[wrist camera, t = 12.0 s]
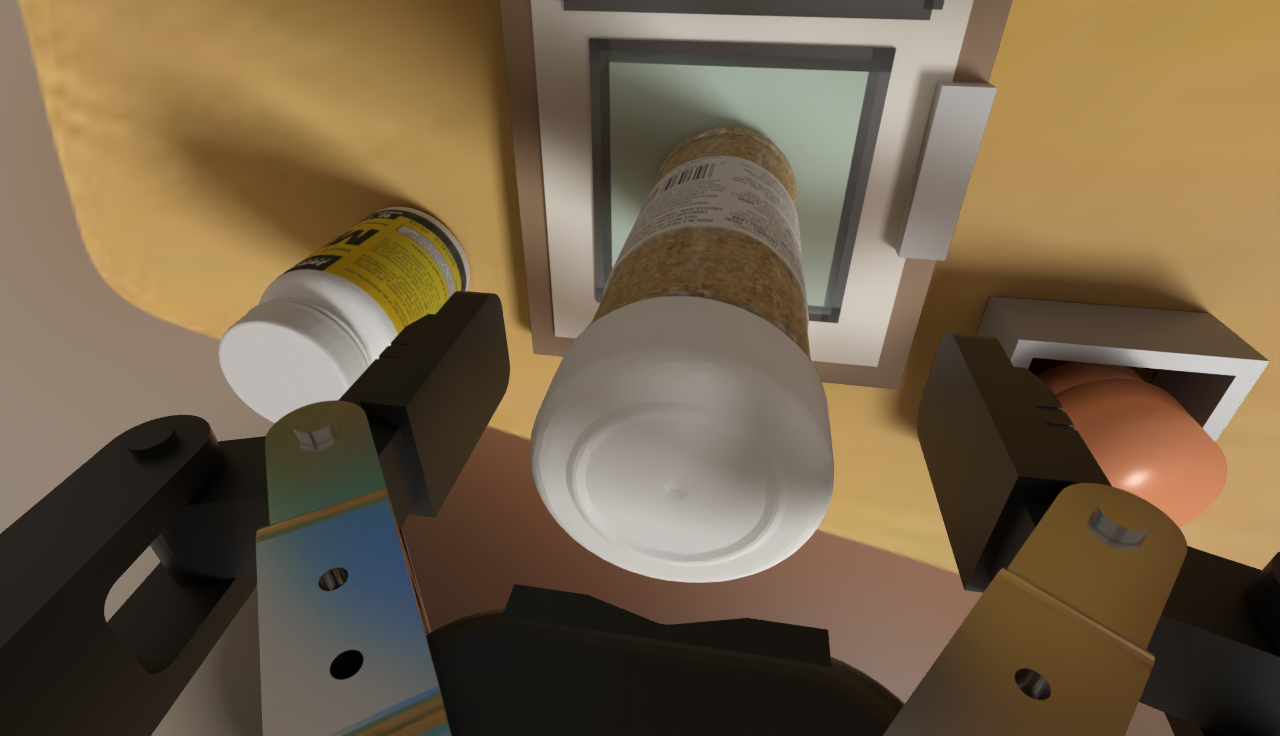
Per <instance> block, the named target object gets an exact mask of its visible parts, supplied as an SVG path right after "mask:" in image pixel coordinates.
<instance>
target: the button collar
mask: <svg viewBox="0 0 1280 736" xmlns="http://www.w3.org/2000/svg"><path fill="white" fill-rule="evenodd" d="M977 335H986V336H994V337H996V338H997V339H998V340H999V342H1000V344H1001V345H1002V347H1003V349H1004V351H1005V352H1006V354H1007V356H1008V358H1009V359H1010V361H1011V363H1012V365H1013V366H1014V367H1023V368H1027V369H1028V368H1029V365H1030V363H1031V361H1032V358H1043V359H1054V360H1065V361H1076V362H1087V363H1098V364H1110V365H1121V366H1132V367H1143V368H1154V369H1159V370H1158V372H1157V373H1156V375H1155V377H1154V379H1153V381H1152V382H1151V384H1153V385H1155V386H1158V387H1160V388H1162V389H1163V390H1165V391H1167V392H1168V393H1169V394H1170V395H1172V396H1173V397H1174V398H1175V399H1176V400H1177V401H1178V402H1179V403H1180V405H1181V406H1182V407H1183V408H1184V409H1185V410H1186V411H1187V412H1188V413H1189V414H1190V415H1191V416H1192V418H1193V419H1194V420H1195V421H1196V422H1197V423H1198V424H1199V425H1200V426H1201V427H1202V428H1203V429H1204V431H1205V432H1206V433H1207V434H1208V435H1209V436H1210V437H1211V438H1212V439H1213V440H1214V441H1215V442H1216V440H1217V439H1218V437H1219V436H1220V434H1221V433H1222V431H1223V430H1224V428H1225V427H1226V425H1227V424H1228V422H1229V421H1230V419H1231V418H1232V416H1233V415H1234V413H1235V412H1236V410H1237V409H1238V407H1239V406H1240V404H1241V403H1242V402H1243V400H1244V399H1245V397H1246V396H1247V394H1248V393H1249V391H1250V390H1251V388H1252V387H1253V385H1254V384H1255V382H1256V381H1257V379H1258V378H1259V376H1260V375H1261V373H1262V372H1263V370H1264V369H1265V367H1266V366H1267V364H1268V363H1269V360H1267V359H1266V358H1265V357H1264V356H1262V355H1261V354H1260V353H1259V352H1258V351H1256V350H1255V349H1254V348H1253V347H1251V346H1250V345H1249V344H1248V343H1246V342H1245V341H1244V340H1243V339H1241V338H1240V337H1239V336H1238V335H1237V334H1235V333H1234V332H1233V331H1232V330H1230V329H1229V328H1228V327H1227V326H1225V325H1224V324H1223V323H1222V322H1221V321H1219V320H1218V319H1217V318H1216V317H1214V316H1213V315H1212V314H1211V313H1199V312H1186V311H1173V310H1161V309H1148V308H1135V307H1123V306H1110V305H1097V304H1085V303H1072V302H1059V301H1047V300H1034V299H1021V298H1009V297H996V296H990V299H989V302H988V304H987V307H986V310H985V313H984V316H983V318H982V321H981V324H980V327H979V330H978V332H977Z"/></svg>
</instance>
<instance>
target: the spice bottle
mask: <svg viewBox="0 0 1280 736" xmlns="http://www.w3.org/2000/svg"><path fill="white" fill-rule="evenodd" d="M796 200H797V185H796V182H795V179H794V175H793V170H792V168H791V166H790V164H789V162H788V160H787V158H786V156H785V155H784V153H783V152H782V151H781V150H780V149H779V148H778V147H777V146H776V145H775V144H774V143H773V142H772V141H771V140H770V139H769V138H766V137H764V136H762V135H761V134H759V133H757V132H755V131H752V130H749V129H745V128H742V127H732V126H718V127H712V128H709V129H707V130H704V131H699V132H697V133H695V134H694V135H692V136H691V137H689V138H687V139H685V140H683V141H682V142H680V143H679V144H678V145H677V146H676V147H675V148H674V150H673V151H672V152H671V153H670V154H669V155H668V157H667V158H666V159H665V161H664V162H663V164H662V166H661V168H660V171H659V174H658V177H657V179H656V181H655V185H654V188H653V190H652V191H651V193H650V194H649V196H648V198H647V199H646V201H645V203H644V205H643V207H642V209H641V211H640V214H639V216H638V218H637V220H636V222H635V224H634V226H633V228H632V230H631V232H630V234H629V236H628V238H627V240H626V242H625V244H624V246H623V248H622V250H621V252H620V254H619V256H618V258H617V261H616V263H615V265H614V267H613V269H612V271H611V273H610V275H609V278H608V280H607V282H606V285H605V288H604V292H603V296H602V300H601V303H600V305H599V308H598V310H597V312H596V314H595V316H594V318H593V321H592V322H591V323H590V324H589V325H588V327H587V328H586V329H585V330H584V331H583V332H582V333H581V334H580V335H579V336H578V337H577V338H576V339H575V341H574V342H573V343H572V345H571V346H570V348H569V349H568V350H567V352H566V353H565V355H564V357H563V360H562V362H561V364H560V366H559V368H558V370H557V372H556V374H555V376H554V378H553V380H552V382H551V384H550V387H549V389H548V391H547V394H546V396H545V398H544V400H543V403H542V405H541V407H540V409H539V412H538V414H537V417H536V420H535V423H534V426H533V429H532V435H531V444H530V461H531V469H532V475H533V478H534V482H535V485H536V487H537V490H538V492H539V494H540V496H541V498H542V501H543V502H544V504H545V506H546V507H547V509H548V510H549V512H550V513H551V515H552V516H553V517H554V519H555V520H556V521H557V522H558V523H559V524H560V526H561V527H562V528H563V529H564V530H565V531H566V532H567V533H568V534H569V535H570V536H572V538H574V539H575V540H576V541H577V542H578V543H580V544H581V545H582V546H583V547H585V548H586V549H588V550H590V551H591V552H593V553H594V554H596V555H598V556H599V557H601V558H602V559H604V560H606V561H608V562H610V563H612V564H615V565H616V566H619V567H621V568H624V569H626V570H629V571H631V572H635V573H638V574H642V575H645V576H649V577H653V578H657V579H662V580H669V581H679V582H721V581H727V580H732V579H737V578H741V577H745V576H748V575H752V574H755V573H758V572H760V571H763V570H766V569H768V568H770V567H772V566H774V565H776V564H778V563H779V562H781V561H783V560H784V559H786V558H787V557H789V556H790V555H791V554H793V553H794V552H796V551H797V550H798V549H799V548H800V547H801V546H802V545H803V544H804V543H805V542H806V541H807V540H808V539H809V538H810V537H811V536H812V534H813V533H814V532H815V530H816V529H817V528H818V526H819V525H820V523H821V521H822V519H823V517H824V516H825V513H826V511H827V508H828V505H829V502H830V499H831V495H832V490H833V479H834V461H833V451H832V441H831V431H830V422H829V414H828V406H827V399H826V395H825V392H824V388H823V385H822V383H821V380H820V377H819V375H818V373H817V371H816V370H815V368H814V366H813V365H812V363H811V358H810V348H809V340H808V325H809V314H808V303H807V294H806V284H805V277H804V268H803V260H802V252H801V240H800V229H799V221H798V216H797V212H796Z"/></svg>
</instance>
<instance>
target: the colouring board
mask: <svg viewBox="0 0 1280 736" xmlns="http://www.w3.org/2000/svg"><path fill="white" fill-rule="evenodd" d="M499 1H500V11H501V22H502V32H503V42H504V53H505V63H506V74H507V84H508V94H509V105H510V115H511V125H512V136H513V146H514V156H515V167H516V177H517V187H518V198H519V208H520V218H521V229H522V239H523V250H524V260H525V270H526V281H527V291H528V301H529V312H530V322H531V332H532V343H533V353H534V354H541V355H551V356H561V357H564V355H565V353H566V352H567V350H568V349H569V348H570V346H571V345H572V343H573V342H574V341H575V339H576V338H577V337H578V336H579V335H580V334H581V333H582V332H583V331H584V330H585V329H586V328H587V327H588V325H589V324H590V323H591V322H592V321H593V318H594V316H595V314H596V312H597V310H598V308H599V305H600V303H601V300H602V296H603V292H604V288H605V285H606V282H607V280H608V278H609V275H610V273H611V271H612V269H613V267H614V265H615V263H616V261H617V258H618V256H619V254H620V252H621V250H622V248H623V246H624V244H625V242H626V240H627V238H628V236H629V234H630V232H631V230H632V228H633V226H634V224H635V222H636V220H637V218H638V216H639V214H640V211H641V209H642V207H643V205H644V203H645V201H646V199H647V198H648V196H649V194H650V193H651V191H652V190H653V188H654V185H655V181H656V179H657V177H658V174H659V171H660V168H661V166H662V164H663V162H664V161H665V159H666V158H667V157H668V155H669V154H670V153H671V152H672V151H673V150H674V148H675V147H676V146H677V145H678V144H679V143H680V142H682V141H683V140H685V139H687V138H689V137H691V136H692V135H694V134H695V133H697V132H699V131H704V130H707V129H709V128H712V127H718V126H732V127H742V128H745V129H749V130H752V131H755V132H757V133H759V134H761V135H762V136H764V137H766V138H769V139H770V140H771V141H772V142H773V143H774V144H775V145H776V146H777V147H778V148H779V149H780V150H781V151H782V152H783V153H784V155H785V156H786V158H787V160H788V162H789V164H790V166H791V168H792V170H793V175H794V179H795V182H796V185H797V200H796V212H797V216H798V221H799V229H800V240H801V252H802V260H803V268H804V277H805V284H806V294H807V303H808V314H809V325H808V340H809V348H810V358H811V363H812V365H813V366H814V368H815V370H816V371H817V373H818V375H819V377H820V380H821V382H826V383H836V384H846V385H856V386H866V387H876V388H886V389H897V390H899V387H900V383H901V380H902V376H903V373H904V370H905V366H906V363H907V359H908V356H909V352H910V349H911V346H912V342H913V339H914V335H915V332H916V329H917V325H918V322H919V318H920V315H921V311H922V308H923V305H924V301H925V298H926V294H927V291H928V288H929V284H930V281H931V277H932V274H933V270H934V267H935V264H936V260H941V261H945V260H946V256H947V253H948V250H949V246H950V243H951V240H952V236H953V233H954V230H955V226H956V223H957V220H958V217H959V213H960V210H961V207H962V203H963V200H964V197H965V193H966V190H967V187H968V183H969V180H970V177H971V173H972V170H973V167H974V163H975V160H976V157H977V153H978V150H979V147H980V143H981V140H982V137H983V133H984V130H985V127H986V123H987V120H988V117H989V114H990V110H991V107H992V104H993V100H994V97H995V94H996V90H997V87H995V86H993V85H991V84H990V83H988V82H989V79H990V76H991V72H992V69H993V65H994V62H995V59H996V55H997V52H998V48H999V45H1000V41H1001V38H1002V35H1003V31H1004V28H1005V24H1006V21H1007V18H1008V14H1009V11H1010V7H1011V4H1012V0H499Z"/></svg>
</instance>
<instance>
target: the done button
mask: <svg viewBox="0 0 1280 736" xmlns="http://www.w3.org/2000/svg"><path fill="white" fill-rule="evenodd" d="M1037 377H1038V378H1039V379H1041V380H1042V381H1043V382H1044V383H1046V384H1047V385H1048V386H1049V387H1051V389H1052V391H1053V392H1054V394H1055V395H1056V397H1057V399H1058V400H1059V402H1060V403H1061V405H1062V407H1063V412H1066V413H1067V415H1068V416H1069V418H1070V419H1071V421H1072V423H1073V424H1074V430H1077V431H1078V432H1079V434H1080V435H1081V437H1082V439H1083V440H1084V442H1085V443H1086V445H1087V447H1088V448H1089V450H1090V451H1091V453H1092V455H1093V456H1094V458H1095V459H1096V461H1097V463H1098V464H1099V466H1100V467H1101V469H1102V471H1103V472H1104V474H1105V475H1106V477H1107V479H1108V480H1109V482H1110V483H1111V485H1112V487H1116V488H1119V489H1122V490H1125V491H1127V492H1130V493H1132V494H1134V495H1137V496H1138V497H1140V498H1142V499H1144V500H1146V501H1148V502H1149V503H1151V504H1153V505H1154V506H1156V507H1157V508H1159V509H1160V510H1161V511H1163V512H1164V513H1165V514H1166V515H1167V516H1168V517H1169V518H1171V519H1172V520H1173V521H1174V523H1175V524H1176V525H1177V526H1178V527H1181V526H1183V525H1185V524H1187V523H1188V522H1190V521H1191V520H1193V519H1195V518H1196V517H1197V516H1199V515H1200V514H1201V513H1203V512H1204V511H1205V510H1206V509H1207V508H1208V507H1209V506H1210V505H1211V504H1212V503H1213V502H1214V500H1215V499H1216V498H1217V497H1218V495H1219V494H1220V492H1221V490H1222V488H1223V486H1224V483H1225V481H1226V476H1227V463H1226V459H1225V456H1224V454H1223V452H1222V450H1221V449H1220V447H1219V446H1218V445H1217V444H1216V443H1215V441H1214V440H1213V439H1212V438H1211V437H1210V436H1209V435H1208V434H1207V433H1206V432H1205V431H1204V429H1203V428H1202V427H1201V426H1200V425H1199V424H1198V423H1197V422H1196V421H1195V420H1194V419H1193V418H1192V416H1191V415H1190V414H1189V413H1188V412H1187V411H1186V410H1185V409H1184V408H1183V407H1182V406H1181V405H1180V403H1179V402H1178V401H1177V400H1176V399H1175V398H1174V397H1173V396H1172V395H1170V394H1169V393H1168V392H1167V391H1165V390H1163V389H1162V388H1160V387H1158V386H1155V385H1153V384H1150V383H1147V382H1145V381H1144V380H1143V379H1142V377H1141V376H1140V375H1139V374H1138V373H1136V372H1135V371H1134V370H1132V369H1131V368H1129V367H1127V366H1121V365H1110V364H1098V363H1087V362H1076V361H1073V362H1069V363H1065V364H1061V365H1059V366H1056V367H1053V368H1051V369H1049V370H1047V371H1044V372H1043V373H1041V374H1039V375H1037Z"/></svg>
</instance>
